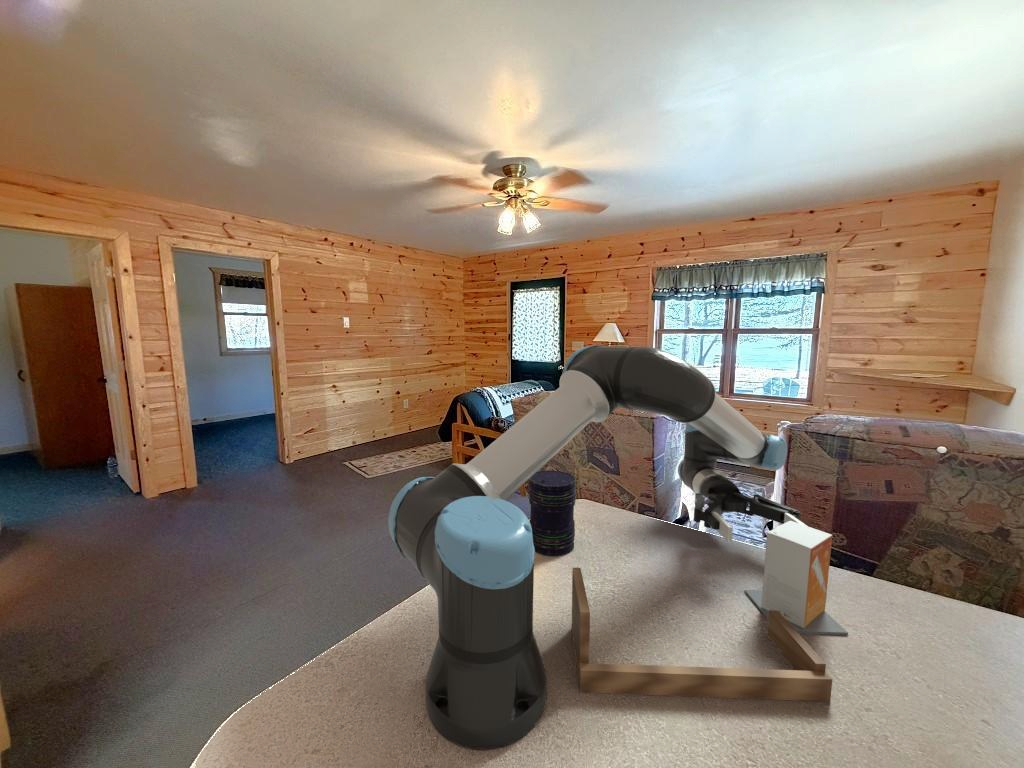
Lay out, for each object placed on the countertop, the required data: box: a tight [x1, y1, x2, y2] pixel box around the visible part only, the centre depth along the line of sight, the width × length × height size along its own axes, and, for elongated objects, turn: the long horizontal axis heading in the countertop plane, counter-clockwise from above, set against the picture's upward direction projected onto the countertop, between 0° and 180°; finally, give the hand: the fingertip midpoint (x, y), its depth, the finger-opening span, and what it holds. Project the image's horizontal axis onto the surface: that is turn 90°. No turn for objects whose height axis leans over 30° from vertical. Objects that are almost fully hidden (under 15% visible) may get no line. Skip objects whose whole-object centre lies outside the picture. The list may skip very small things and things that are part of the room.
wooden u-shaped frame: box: [571, 567, 833, 703], centre depth 55 cm, size 30×11×10 cm, turn 87°
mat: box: [744, 589, 849, 636], centre depth 66 cm, size 10×10×1 cm
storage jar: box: [528, 469, 577, 558], centre depth 87 cm, size 10×10×15 cm
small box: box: [761, 521, 833, 628], centre depth 65 cm, size 8×6×13 cm
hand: (769, 535), depth 72 cm, fingers open, 13 cm apart
